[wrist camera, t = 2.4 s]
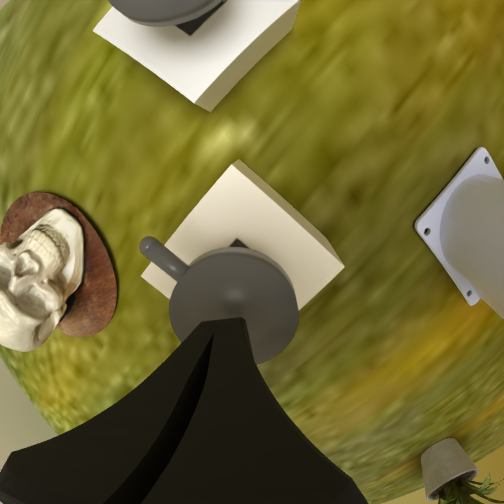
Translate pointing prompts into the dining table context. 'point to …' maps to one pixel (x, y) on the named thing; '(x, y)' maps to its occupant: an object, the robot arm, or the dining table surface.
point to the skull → (51, 273)
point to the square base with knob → (205, 45)
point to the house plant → (452, 475)
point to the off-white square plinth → (252, 233)
